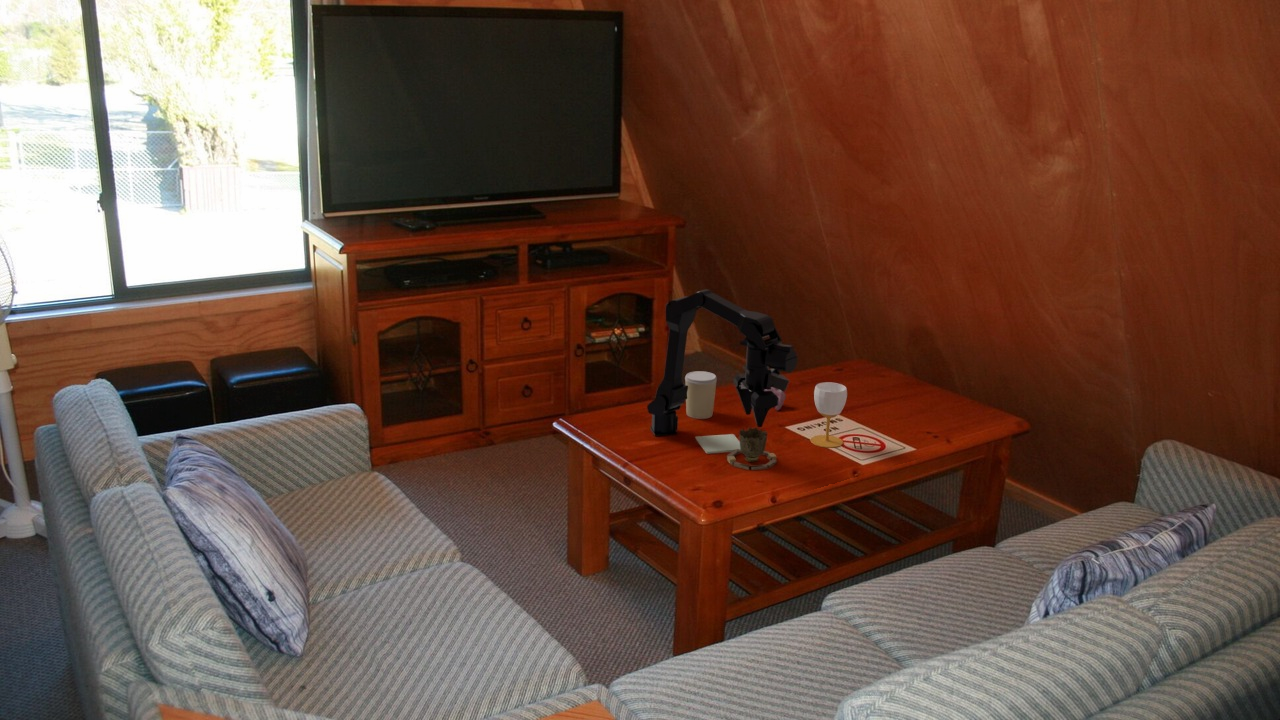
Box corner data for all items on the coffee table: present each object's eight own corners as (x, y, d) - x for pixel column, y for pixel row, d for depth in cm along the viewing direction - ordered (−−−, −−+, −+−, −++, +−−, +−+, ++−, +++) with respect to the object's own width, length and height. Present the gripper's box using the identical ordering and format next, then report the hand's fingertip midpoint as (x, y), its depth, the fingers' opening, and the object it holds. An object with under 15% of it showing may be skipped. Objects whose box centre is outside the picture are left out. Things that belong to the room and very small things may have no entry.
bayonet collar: (735, 471, 269) (736, 467, 269) (721, 453, 281) (721, 448, 281) (782, 467, 272) (783, 463, 272) (766, 449, 284) (766, 445, 283)
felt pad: (706, 453, 280) (706, 451, 280) (695, 438, 291) (695, 436, 290) (745, 450, 283) (745, 448, 283) (733, 436, 293) (733, 434, 293)
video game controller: (783, 413, 316) (789, 390, 317) (778, 410, 312) (783, 388, 313) (754, 406, 321) (759, 384, 322) (748, 404, 317) (754, 381, 318)
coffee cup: (708, 407, 315) (709, 369, 311) (720, 418, 306) (721, 379, 303) (679, 410, 312) (680, 372, 308) (690, 421, 303) (691, 382, 300)
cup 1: (746, 467, 272) (747, 439, 270) (732, 457, 278) (734, 429, 276) (771, 463, 275) (772, 435, 272) (757, 453, 281) (758, 425, 279)
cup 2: (835, 434, 296) (840, 381, 291) (848, 446, 287) (853, 391, 282) (805, 436, 294) (809, 382, 289) (817, 448, 285) (821, 393, 280)
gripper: (800, 373, 262) (795, 431, 266) (774, 351, 279) (770, 406, 284) (757, 375, 259) (754, 434, 264) (734, 353, 277) (731, 409, 281)
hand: (753, 420), depth 273 cm, fingers open, 9 cm apart
